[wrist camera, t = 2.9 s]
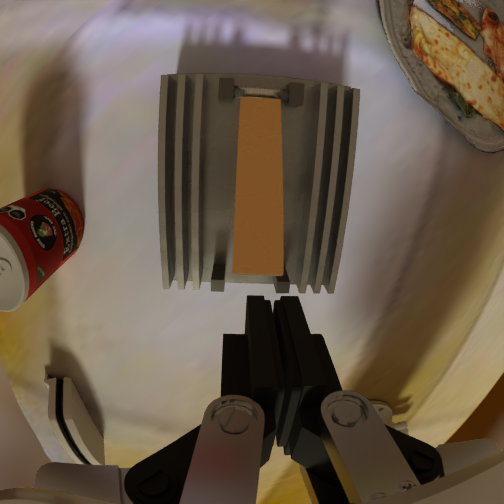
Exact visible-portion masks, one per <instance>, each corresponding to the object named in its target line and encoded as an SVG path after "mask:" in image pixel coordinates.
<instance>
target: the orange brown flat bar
mask: <svg viewBox="0 0 504 504" xmlns="http://www.w3.org/2000/svg"><path fill="white" fill-rule="evenodd" d="M283 252H284V249H283V162H282V125H281V99H270V98H256V97H241V98H240V114H239V132H238V151H237V171H236V192H235V215H234V240H233V268H232V275H258V276H282V275H283Z"/></svg>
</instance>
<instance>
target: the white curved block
mask: <svg viewBox="0 0 504 504" xmlns="http://www.w3.org/2000/svg"><path fill="white" fill-rule="evenodd" d="M44 382H45V384H46V386H47V388H48V390H49V402H48V417H49V420H50V423H51V425H52V427H53V430H54V432H55V434H56V436H57V438H58V439H59V441H60V443H61V444H62V446H63V447H64V449H65V450H66V452H67V453H68V454H69V456H70V457H71V458H72V459H73V460H74V461H75V462H76V463H78V464H87V465H105V456H104V439H103V437H102V436H101V434H100V432H99V431H98V429H97V427H96V425H95V424H94V422H93V420H92V418H91V417H90V415H89V413H88V411H87V409H86V407H85V405H84V403H83V401H82V400H81V398H80V396H79V394H78V392H77V389H76V387H75V385H74V383H73V381H72V379H71V378H69V377H64V380H62V385H61V383H60V381H59V380H57V379H56V378H52V379H50V377H49V375H48V374H45V379H44Z"/></svg>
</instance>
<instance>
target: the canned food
mask: <svg viewBox="0 0 504 504" xmlns="http://www.w3.org/2000/svg"><path fill="white" fill-rule="evenodd" d="M83 232H84V225H83V218H82V215H81V212H80V210H79V208H78V206H77V205H76V203H75V202H74V201H73V200H72V199H71V198H70V197H69V196H68V195H67V194H65V193H63V192H61V191H58V190H51V189H45V190H41V191H38V192H36V193H34V194H31V195H29V196H27V197H24V198H22V199H20V200H18V201H15V202H13V203H11V204H9V205H7V206H5V207H2V208H0V311H4V312H10V311H13V310H15V309H17V308H18V307H19V306H21V305H22V304H23V303H24V302H25V301H26V300H27V299H28V298H29V297H30V296H31V295H32V294H33V293H34V292H35V291H36V290H37V289H38V288H39V287H40V286H41V285H42V284H43V283H44V282H45V281H46V280H47V279H48V278H49V277H50V276H51V275H52V274H53V273H54V272H55V271H56V270H57V269H58V268H59V267H60V266H62V265H63V264H64V263H65V262H66V261H67V260H68V259H69V258H70V257H71V256H72V255H73V254H74V253H75V252H76V251H77V249H78V248H79V245H80V243H81V240H82V237H83Z"/></svg>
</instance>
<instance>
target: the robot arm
mask: <svg viewBox="0 0 504 504" xmlns="http://www.w3.org/2000/svg"><path fill="white" fill-rule="evenodd" d="M392 416H393V414H392V410H391V408H390V406H389V405H388V404H386V403H384V402H382V401H369V400H368V399H367V398H366V397H364V396H363V395H361V394H359V393H356V392H354V391H347V390H342V387H341V385H340V382H339V379H338V376H337V373H336V371H335V368H334V365H333V362H332V360H331V357H330V354H329V351H328V349H327V346H326V343H325V341H324V338H323V336H322V335H321V334H311V333H310V330H309V327H308V324H307V321H306V318H305V315H304V312H303V309H302V306H301V303H300V300H299V298H298V296H281V298H280V300H275V301H274V308H273V312H272V307H271V302H270V300H265V299H264V296H251V295H247V303H246V321H245V334H223V353H222V378H221V397H219V398H217V399H215V400H213V401H212V402H211V403H210V404H209V405H208V407H207V409H206V411H205V413H204V417H203V420H202V424H200V425H199V426H197V427H196V428H194V429H193V430H191V431H190V432H188V433H187V434H185V435H184V436H182V437H181V438H179V439H177V440H176V441H174V442H173V443H171V444H169V445H168V446H166V447H164V448H163V449H161V450H159V451H158V452H156V453H154V454H153V455H151V456H149V457H148V458H146V459H144V460H142V461H141V462H139V463H137V464H136V465H134V466H133V467H132V468H119V466H118V465H87V464H71V463H60V462H51V463H47V464H45V465H43V466H41V467H40V468H39V470H38V471H37V474H36V477H35V485H34V488H29V487H27V488H9V489H4V490H0V504H256V497H257V489H258V480H259V471H260V468H261V467H262V466H263V465H264V464H265V463H266V462H267V461H268V460H269V458H270V454H271V450H272V447H273V444H274V440H275V435H276V441H277V446H278V447H282V446H283V448H284V455H291V459H293V460H294V461H296V462H297V463H299V468H300V472H301V475H302V477H303V480H304V483H305V486H306V488H307V491H308V494H309V496H310V499H311V502H312V504H504V449H503V450H501V451H500V450H499V448H498V446H497V444H496V443H494V442H493V441H492V440H489V439H478V440H472V441H466V442H458V443H450V444H441V445H438V446H437V447H436V448H434V447H432V446H431V445H429V444H427V443H425V442H422V441H420V440H418V439H416V438H413V437H411V436H409V435H408V429H407V422H406V421H402V422H398V423H394V422H392Z"/></svg>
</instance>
